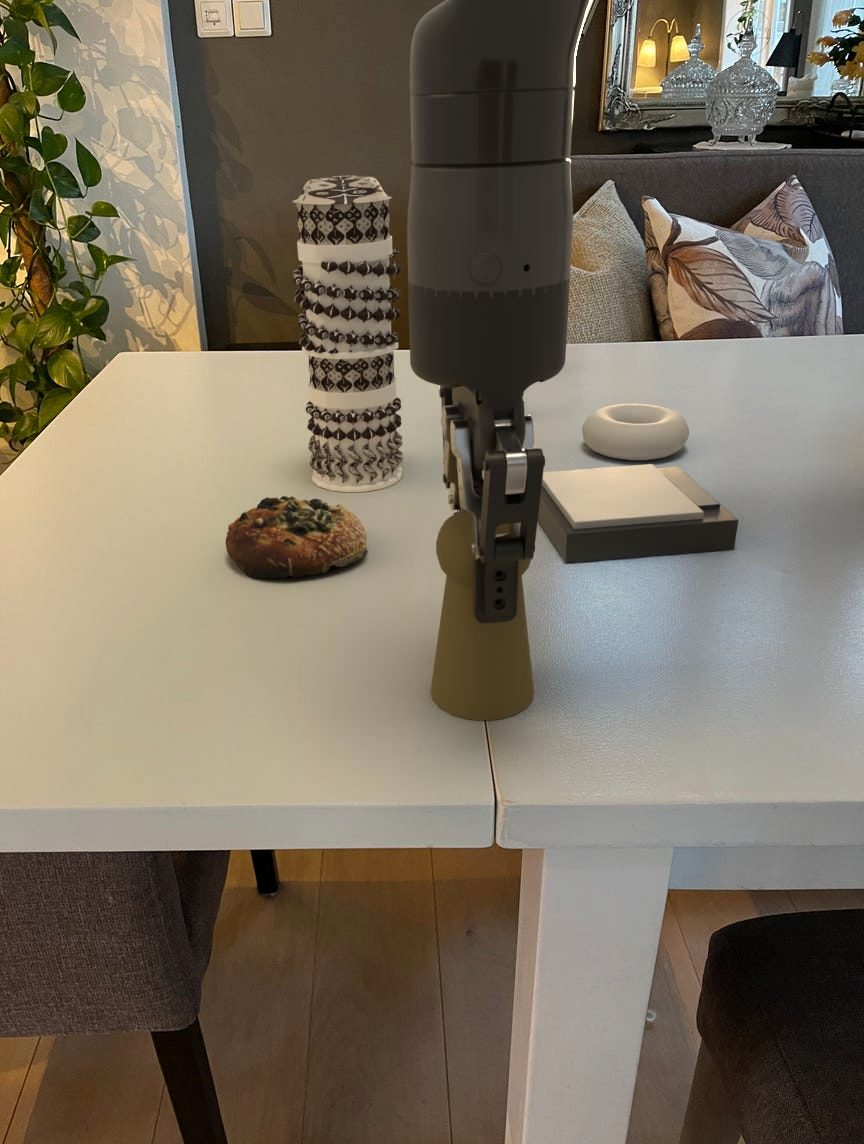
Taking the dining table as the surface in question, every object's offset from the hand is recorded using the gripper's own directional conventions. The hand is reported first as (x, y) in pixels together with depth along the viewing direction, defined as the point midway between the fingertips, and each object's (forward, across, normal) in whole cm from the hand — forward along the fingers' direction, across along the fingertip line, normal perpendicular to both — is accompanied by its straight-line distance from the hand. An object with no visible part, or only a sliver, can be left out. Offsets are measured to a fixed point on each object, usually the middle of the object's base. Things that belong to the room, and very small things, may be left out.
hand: (483, 593), depth 53 cm
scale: (+6, +22, -16) cm, 28 cm away
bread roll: (+7, +22, +10) cm, 25 cm away
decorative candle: (+7, +38, +4) cm, 39 cm away
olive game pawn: (+7, 0, 0) cm, 7 cm away
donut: (+7, +40, -23) cm, 47 cm away
